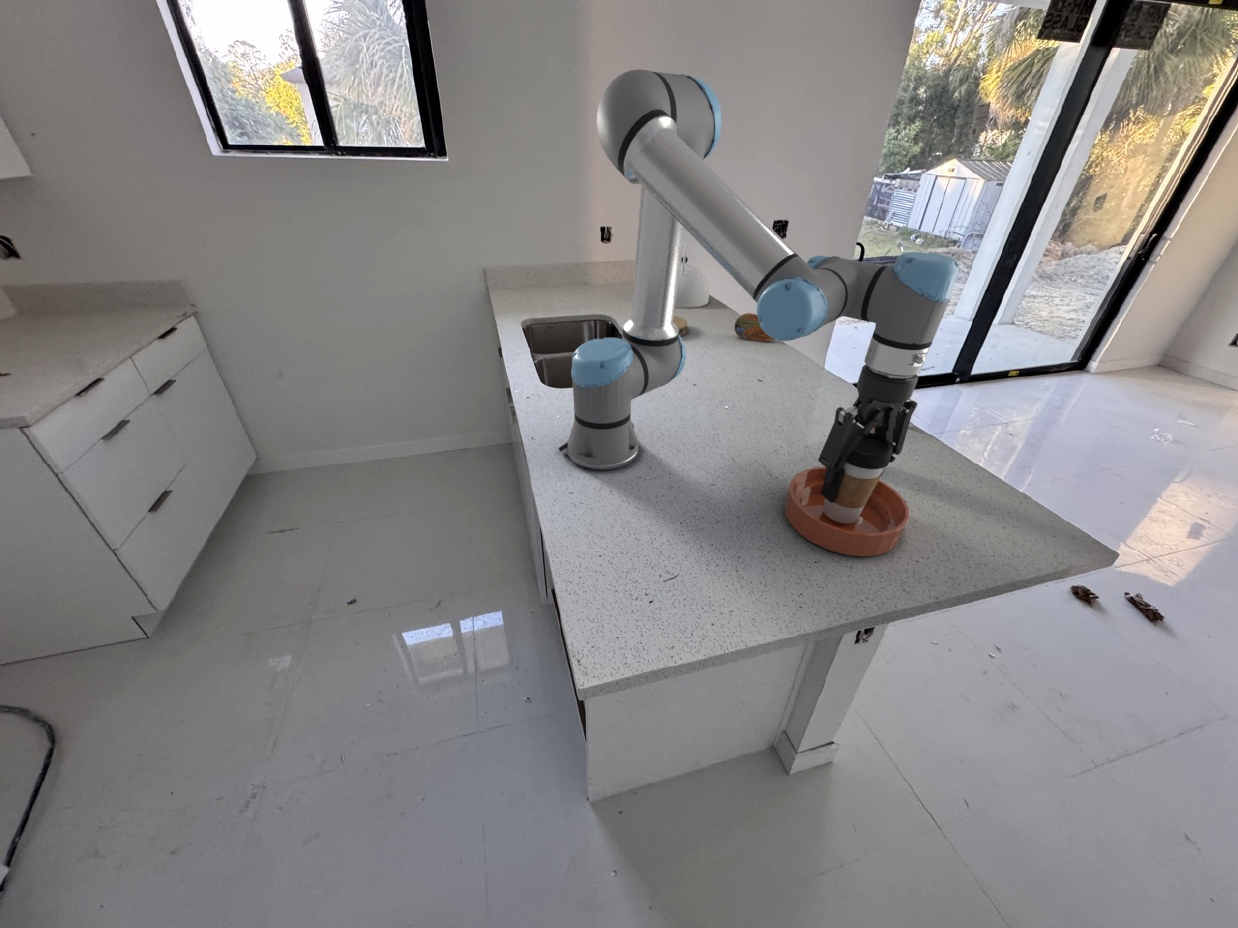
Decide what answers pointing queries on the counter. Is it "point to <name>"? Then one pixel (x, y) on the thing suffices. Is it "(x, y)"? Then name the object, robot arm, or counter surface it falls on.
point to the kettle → (691, 285)
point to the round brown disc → (680, 324)
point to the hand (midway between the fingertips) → (847, 493)
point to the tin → (750, 328)
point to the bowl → (860, 538)
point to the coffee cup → (859, 479)
